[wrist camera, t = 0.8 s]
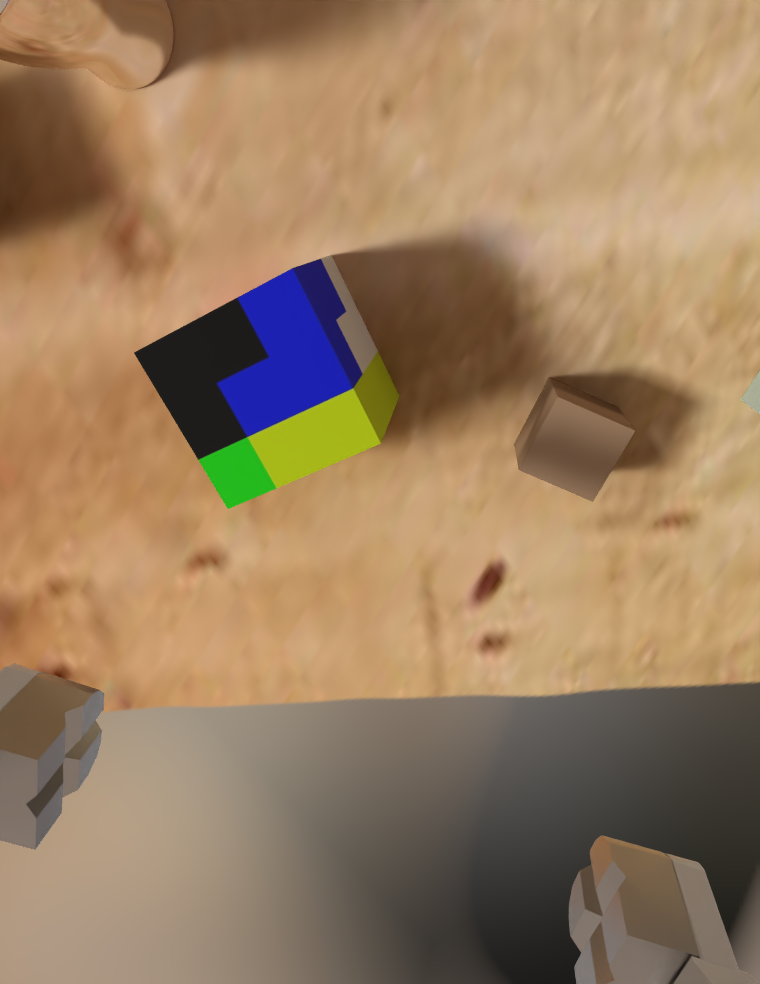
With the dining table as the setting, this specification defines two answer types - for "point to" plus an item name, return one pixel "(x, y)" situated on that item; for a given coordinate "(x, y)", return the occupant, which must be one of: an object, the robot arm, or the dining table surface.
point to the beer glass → (90, 37)
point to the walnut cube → (572, 439)
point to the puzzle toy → (275, 382)
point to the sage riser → (753, 394)
